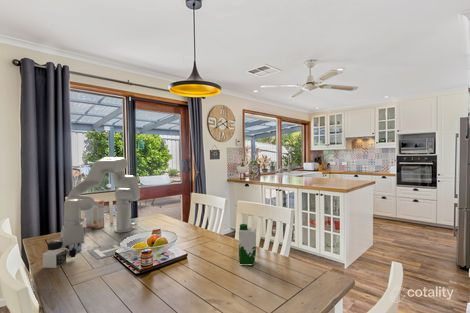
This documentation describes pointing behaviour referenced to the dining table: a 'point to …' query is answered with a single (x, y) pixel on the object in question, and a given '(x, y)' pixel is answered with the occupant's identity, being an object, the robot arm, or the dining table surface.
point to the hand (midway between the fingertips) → (72, 256)
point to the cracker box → (95, 215)
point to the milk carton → (247, 244)
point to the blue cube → (77, 247)
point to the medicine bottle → (54, 255)
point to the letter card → (104, 251)
